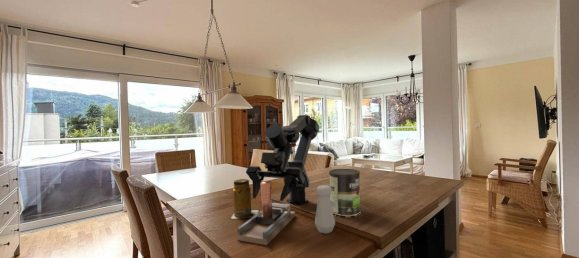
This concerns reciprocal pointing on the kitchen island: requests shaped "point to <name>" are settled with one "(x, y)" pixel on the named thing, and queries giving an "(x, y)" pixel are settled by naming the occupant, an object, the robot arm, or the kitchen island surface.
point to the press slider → (267, 206)
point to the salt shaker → (324, 210)
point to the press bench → (265, 227)
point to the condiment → (242, 200)
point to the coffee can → (345, 191)
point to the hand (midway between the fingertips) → (267, 199)
